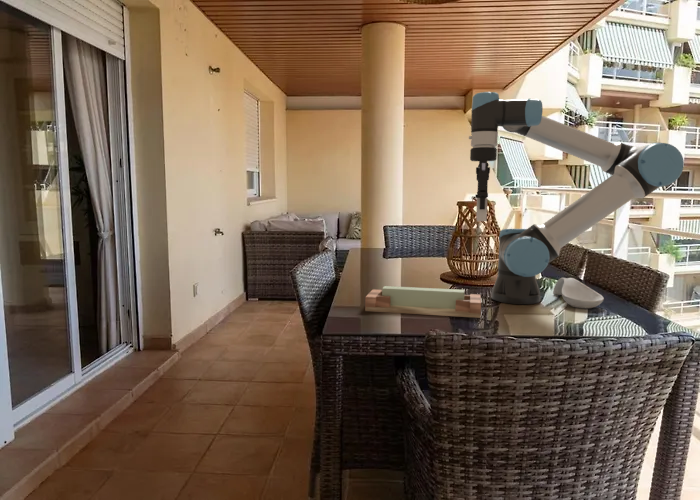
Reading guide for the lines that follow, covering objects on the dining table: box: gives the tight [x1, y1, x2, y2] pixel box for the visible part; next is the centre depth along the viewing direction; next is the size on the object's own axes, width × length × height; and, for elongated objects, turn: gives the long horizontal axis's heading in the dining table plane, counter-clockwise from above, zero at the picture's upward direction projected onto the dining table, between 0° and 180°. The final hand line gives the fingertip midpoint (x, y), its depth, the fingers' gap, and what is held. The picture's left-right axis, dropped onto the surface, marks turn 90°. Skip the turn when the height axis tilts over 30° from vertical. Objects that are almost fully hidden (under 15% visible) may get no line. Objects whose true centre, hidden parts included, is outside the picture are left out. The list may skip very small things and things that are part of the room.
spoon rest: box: [552, 277, 605, 309], centre depth 164 cm, size 24×12×7 cm, turn 0°
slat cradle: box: [364, 288, 482, 319], centre depth 153 cm, size 12×33×4 cm, turn 77°
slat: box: [381, 285, 465, 309], centre depth 153 cm, size 4×24×5 cm, turn 77°
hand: (481, 219), depth 153 cm, fingers open, 13 cm apart
